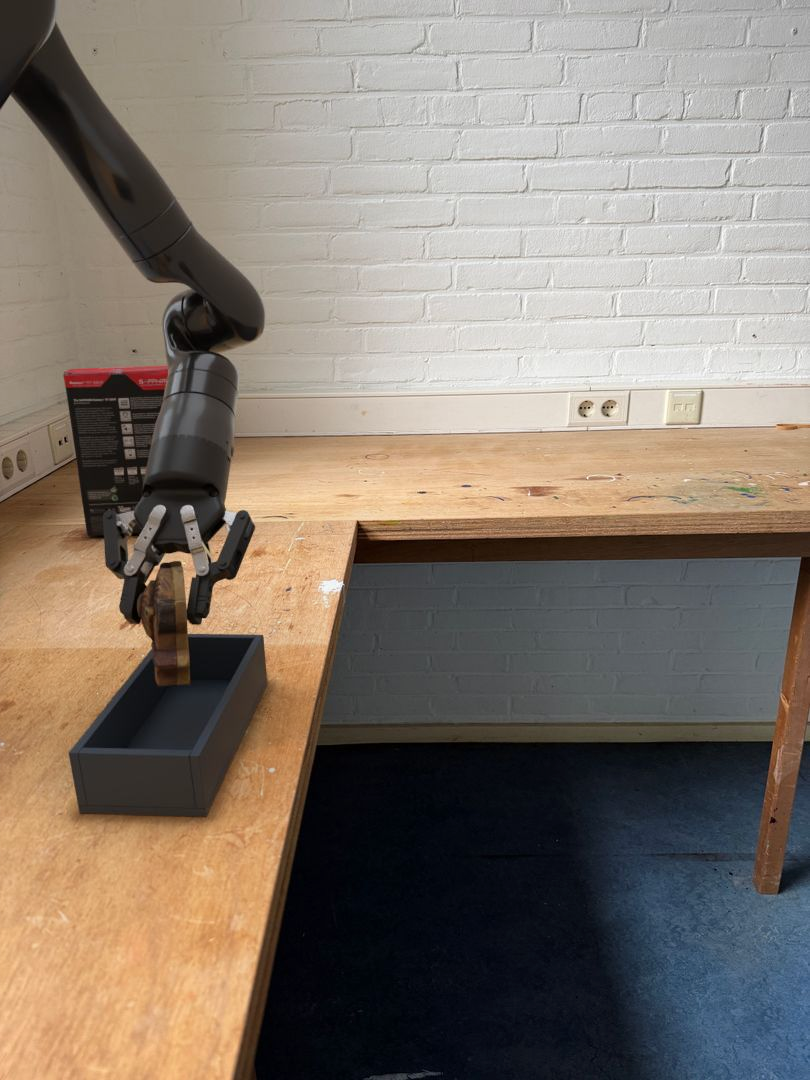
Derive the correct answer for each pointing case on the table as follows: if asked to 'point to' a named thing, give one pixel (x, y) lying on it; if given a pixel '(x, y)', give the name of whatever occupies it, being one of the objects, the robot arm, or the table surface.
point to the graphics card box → (113, 435)
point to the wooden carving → (167, 624)
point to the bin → (171, 732)
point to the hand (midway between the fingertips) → (162, 620)
